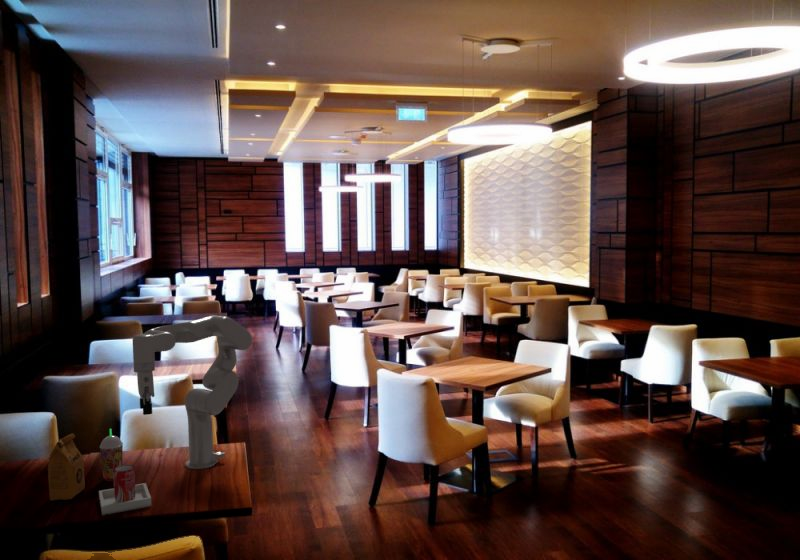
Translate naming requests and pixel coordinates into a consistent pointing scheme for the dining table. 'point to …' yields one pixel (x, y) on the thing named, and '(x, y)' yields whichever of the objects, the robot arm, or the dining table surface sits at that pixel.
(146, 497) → the tray
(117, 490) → the soda can
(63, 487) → the coffee package
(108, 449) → the smoothie
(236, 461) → the dining table surface
